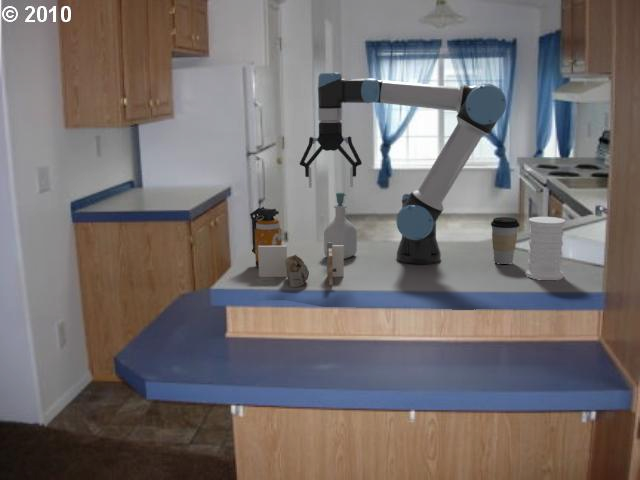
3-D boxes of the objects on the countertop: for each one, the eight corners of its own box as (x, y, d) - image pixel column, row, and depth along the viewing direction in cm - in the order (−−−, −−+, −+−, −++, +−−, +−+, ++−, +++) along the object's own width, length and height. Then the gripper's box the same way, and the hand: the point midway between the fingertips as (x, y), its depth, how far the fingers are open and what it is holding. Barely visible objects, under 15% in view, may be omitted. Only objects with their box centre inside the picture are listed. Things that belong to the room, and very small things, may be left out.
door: (328, 275, 233) (328, 247, 231) (335, 275, 233) (335, 247, 231) (329, 285, 222) (329, 256, 220) (336, 285, 222) (336, 256, 220)
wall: (343, 275, 235) (343, 241, 233) (343, 276, 233) (343, 243, 231) (259, 275, 236) (258, 242, 234) (258, 277, 234) (257, 243, 232)
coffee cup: (487, 265, 246) (488, 221, 242) (491, 258, 254) (493, 216, 251) (515, 267, 242) (518, 222, 239) (519, 260, 251) (521, 217, 248)
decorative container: (545, 283, 224) (548, 224, 220) (517, 274, 233) (519, 219, 229) (571, 277, 230) (574, 220, 226) (542, 269, 239) (545, 215, 235)
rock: (311, 284, 221) (305, 251, 222) (290, 288, 221) (284, 255, 222) (309, 285, 233) (303, 255, 234) (289, 289, 233) (283, 258, 234)
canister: (272, 270, 242) (270, 211, 238) (245, 266, 248) (243, 208, 244) (287, 265, 249) (286, 206, 245) (261, 261, 255) (259, 204, 251)
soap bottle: (359, 255, 262) (358, 191, 257) (345, 260, 254) (345, 195, 249) (336, 252, 267) (335, 190, 262) (321, 257, 259) (321, 193, 254)
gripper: (368, 120, 241) (368, 184, 246) (292, 121, 242) (293, 185, 246) (369, 121, 234) (369, 188, 238) (290, 122, 234) (292, 188, 239)
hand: (330, 186), depth 242 cm, fingers open, 13 cm apart
